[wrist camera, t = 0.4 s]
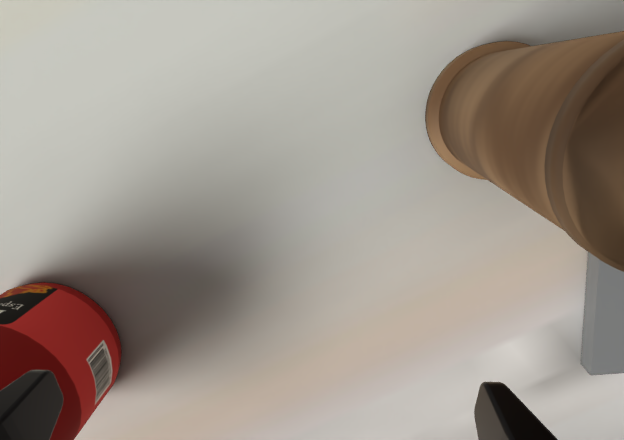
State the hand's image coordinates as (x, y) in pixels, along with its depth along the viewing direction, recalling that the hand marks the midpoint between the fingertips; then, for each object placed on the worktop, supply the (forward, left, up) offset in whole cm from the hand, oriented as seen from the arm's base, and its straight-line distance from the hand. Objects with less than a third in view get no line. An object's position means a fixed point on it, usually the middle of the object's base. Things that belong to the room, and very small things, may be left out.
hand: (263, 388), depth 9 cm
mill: (+4, -9, -14) cm, 17 cm away
